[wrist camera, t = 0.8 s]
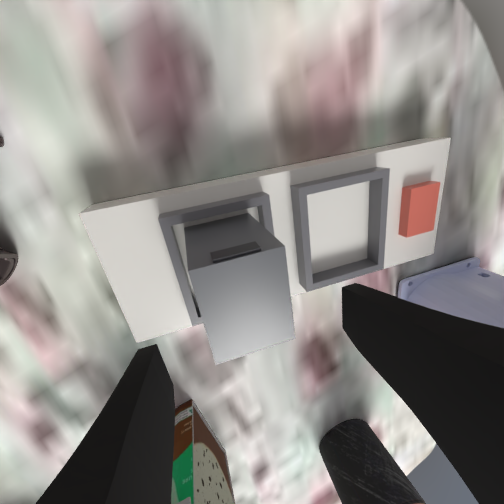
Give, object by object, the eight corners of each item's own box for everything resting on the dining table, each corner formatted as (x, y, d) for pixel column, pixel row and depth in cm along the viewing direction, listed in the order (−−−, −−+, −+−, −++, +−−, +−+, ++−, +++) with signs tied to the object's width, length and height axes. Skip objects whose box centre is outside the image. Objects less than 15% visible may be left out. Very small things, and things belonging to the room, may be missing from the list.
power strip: (420, 138, 20) (468, 136, 17) (409, 243, 24) (447, 259, 20) (92, 204, 16) (70, 219, 12) (141, 320, 19) (134, 356, 16)
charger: (248, 210, 16) (284, 242, 11) (260, 281, 18) (295, 338, 13) (183, 225, 15) (187, 267, 10) (203, 297, 17) (215, 365, 12)
